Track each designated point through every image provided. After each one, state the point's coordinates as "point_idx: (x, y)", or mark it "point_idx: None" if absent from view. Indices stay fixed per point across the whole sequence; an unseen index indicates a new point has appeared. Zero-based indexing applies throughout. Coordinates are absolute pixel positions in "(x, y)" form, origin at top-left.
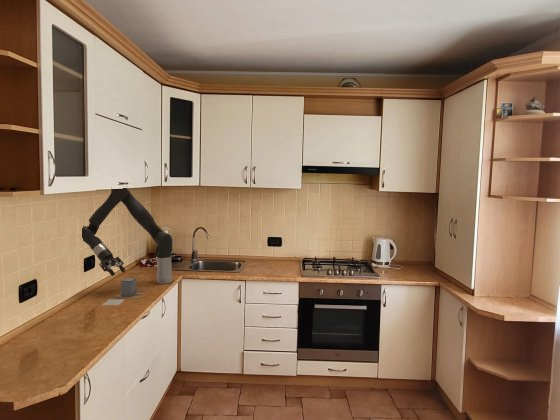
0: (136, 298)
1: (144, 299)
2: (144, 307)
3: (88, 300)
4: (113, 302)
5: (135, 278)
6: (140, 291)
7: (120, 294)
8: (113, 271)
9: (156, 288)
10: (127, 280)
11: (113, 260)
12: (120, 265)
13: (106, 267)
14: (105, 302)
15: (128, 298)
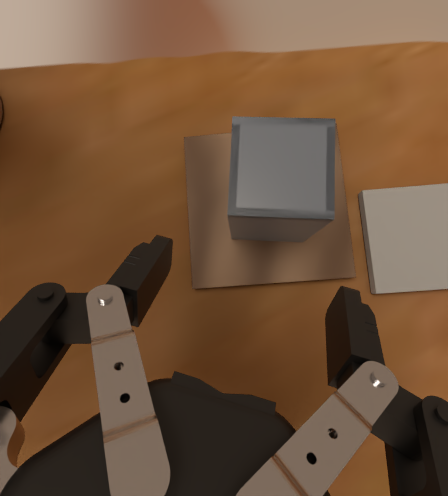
0: (336, 129)
1: (306, 101)
2: (438, 47)
3: (367, 443)
4: (430, 234)
5: (235, 123)
6: (197, 163)
7: (268, 264)
8: (346, 311)
9: (95, 115)
10: (310, 165)
11: (164, 450)
12: (124, 306)
13: (444, 432)
14: (438, 285)
15: (341, 177)
